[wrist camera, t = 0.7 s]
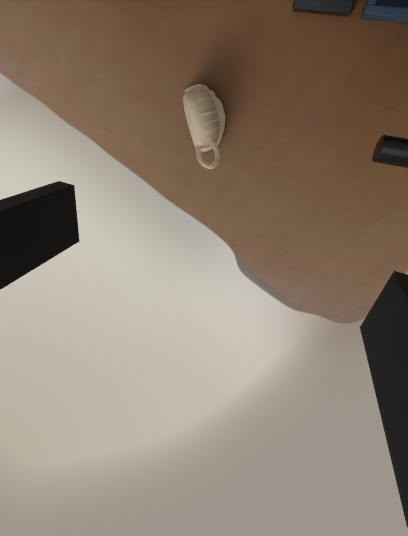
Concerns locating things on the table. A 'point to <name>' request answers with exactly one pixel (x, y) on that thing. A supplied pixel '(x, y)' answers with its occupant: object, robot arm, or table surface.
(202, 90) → the decorative ornament
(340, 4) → the stand
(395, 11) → the tray
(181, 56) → the table surface
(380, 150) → the grey frying pan
